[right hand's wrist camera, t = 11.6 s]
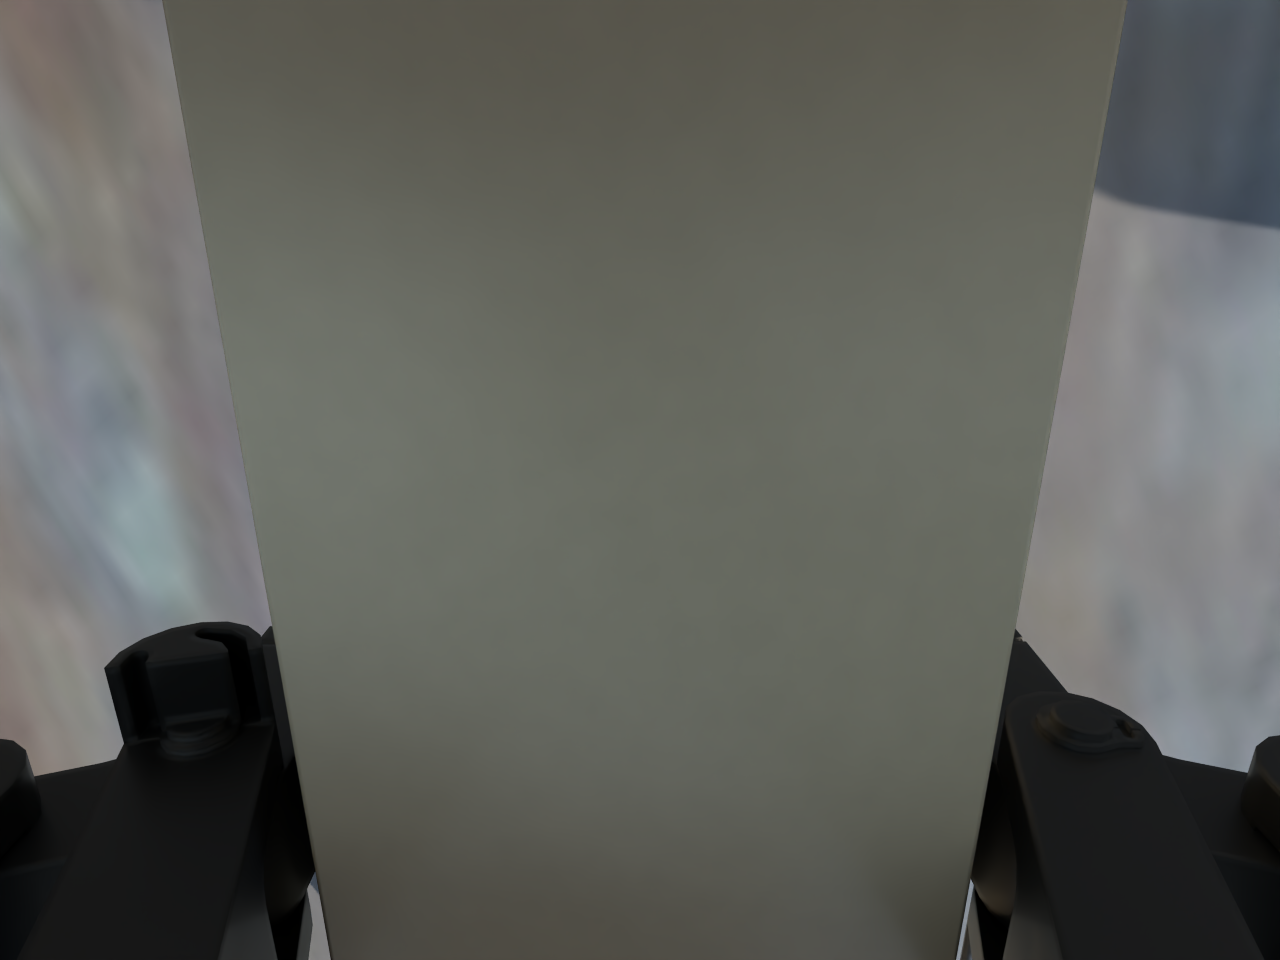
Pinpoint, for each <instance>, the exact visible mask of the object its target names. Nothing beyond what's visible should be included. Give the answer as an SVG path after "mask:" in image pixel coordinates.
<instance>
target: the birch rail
mask: <svg viewBox="0 0 1280 960" xmlns="http://www.w3.org/2000/svg"><path fill="white" fill-rule="evenodd" d="M162 1H163V7H164V13H165V18H166V24H167V30H168V35H169V41H170V47H171V52H172V58H173V64H174V69H175V75H176V81H177V87H178V92H179V98H180V104H181V109H182V115H183V121H184V126H185V132H186V138H187V143H188V149H189V155H190V161H191V166H192V172H193V178H194V183H195V189H196V195H197V200H198V206H199V212H200V217H201V223H202V229H203V234H204V240H205V246H206V252H207V257H208V263H209V269H210V274H211V280H212V286H213V291H214V297H215V303H216V308H217V314H218V320H219V326H220V331H221V337H222V343H223V348H224V354H225V360H226V365H227V371H228V377H229V382H230V388H231V394H232V399H233V405H234V411H235V417H236V422H237V428H238V434H239V439H240V445H241V451H242V456H243V462H244V468H245V473H246V479H247V485H248V491H249V496H250V502H251V508H252V513H253V519H254V525H255V530H256V536H257V542H258V547H259V553H260V559H261V564H262V570H263V576H264V582H265V587H266V593H267V599H268V604H269V610H270V616H271V621H272V627H273V633H274V638H275V644H276V650H277V656H278V661H279V667H280V673H281V678H282V684H283V690H284V695H285V701H286V707H287V712H288V718H289V724H290V729H291V735H292V741H293V747H294V752H295V758H296V764H297V769H298V775H299V781H300V786H301V792H302V798H303V803H304V809H305V815H306V821H307V826H308V832H309V838H310V843H311V849H312V855H313V860H314V866H315V872H316V877H317V883H318V889H319V894H320V900H321V906H322V912H323V917H324V923H325V929H326V934H327V940H328V946H329V951H330V957H331V960H956V957H957V951H958V946H959V940H960V934H961V929H962V923H963V918H964V912H965V906H966V901H967V895H968V890H969V884H970V878H971V873H972V867H973V862H974V856H975V851H976V845H977V839H978V834H979V828H980V823H981V817H982V811H983V806H984V800H985V795H986V789H987V783H988V778H989V772H990V767H991V761H992V756H993V750H994V744H995V739H996V733H997V728H998V722H999V716H1000V711H1001V705H1002V700H1003V694H1004V688H1005V683H1006V677H1007V672H1008V666H1009V661H1010V655H1011V649H1012V644H1013V638H1014V633H1015V627H1016V621H1017V616H1018V610H1019V605H1020V599H1021V593H1022V588H1023V582H1024V577H1025V571H1026V566H1027V560H1028V554H1029V549H1030V543H1031V538H1032V532H1033V526H1034V521H1035V515H1036V510H1037V504H1038V498H1039V493H1040V487H1041V482H1042V476H1043V470H1044V465H1045V459H1046V454H1047V448H1048V443H1049V437H1050V431H1051V426H1052V420H1053V415H1054V409H1055V403H1056V398H1057V392H1058V387H1059V381H1060V375H1061V370H1062V364H1063V359H1064V353H1065V348H1066V342H1067V336H1068V331H1069V325H1070V320H1071V314H1072V308H1073V303H1074V297H1075V292H1076V286H1077V280H1078V275H1079V269H1080V264H1081V258H1082V253H1083V247H1084V241H1085V236H1086V230H1087V225H1088V219H1089V213H1090V208H1091V202H1092V197H1093V191H1094V185H1095V180H1096V174H1097V169H1098V163H1099V158H1100V152H1101V146H1102V141H1103V135H1104V130H1105V124H1106V118H1107V113H1108V107H1109V102H1110V96H1111V90H1112V85H1113V79H1114V74H1115V68H1116V63H1117V57H1118V51H1119V46H1120V40H1121V35H1122V29H1123V23H1124V18H1125V12H1126V7H1127V1H1128V0H162Z"/></svg>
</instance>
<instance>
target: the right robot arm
mask: <svg viewBox="0 0 1280 960" xmlns="http://www.w3.org/2000/svg"><path fill="white" fill-rule="evenodd" d="M104 669H105V673H106V677H107V680H108V684H109V688H110V692H111V696H112V700H113V703H114V707H115V711H116V715H117V719H118V722H119V726H120V730H121V734H122V738H123V741H124V745H123V747H122V749H121V751H120V753H119V755H118V757H117V759H115V760H111V761H108V762H104V763H99V764H94V765H89V766H84V767H79V768H74V769H69V770H64V771H59V772H54V773H49V774H44V775H39V776H34V775H33V772H32V768H31V765H30V762H29V759H28V756H27V753H26V750H25V749H23V748H22V747H21V746H19V745H18V744H17V743H16V742H14V741H12V740H5V739H0V960H308V957H309V950H310V942H311V934H312V926H313V924H312V917H311V909H310V903H309V898H308V892H307V888H308V885H309V883H310V881H311V879H312V877H313V875H314V873H315V866H314V860H313V855H312V849H311V843H310V838H309V832H308V826H307V821H306V815H305V809H304V803H303V798H302V792H301V786H300V781H299V775H298V769H297V764H296V758H295V752H294V747H293V741H292V735H291V729H290V724H289V718H288V712H287V707H286V701H285V695H284V690H283V684H282V678H281V673H280V667H279V661H278V656H277V650H276V644H275V638H274V633H273V627H272V626H270V627H269V628H268V629H267V631H266V632H265V633H264V634H263V635H262V637H261V635H260V634H258V633H257V632H256V631H254V630H253V629H252V628H250V627H249V626H246V625H241V624H237V623H232V622H200V623H195V624H190V625H185V626H180V627H175V628H171V629H168V630H165V631H163V632H160V633H157V634H154V635H152V636H149V637H146V638H143V639H142V640H140V641H138V642H136V643H135V644H133V645H131V646H130V647H128V648H126V649H124V650H123V651H121V652H119V653H118V654H117V655H116V656H115V657H114V658H113V659H112V660H111V661H110V663H109V664H108V665H107V666H106V667H105V668H104ZM971 880H972V882H973V884H974V887H973V892H972V898H971V903H970V909H969V914H968V920H967V925H966V931H965V936H964V941H963V947H962V952H961V958H960V960H1280V735H1279V736H1272V737H1268V738H1267V739H1265V740H1264V741H1263V742H1261V743H1260V744H1259V745H1257V746H1256V748H1255V752H1254V755H1253V758H1252V761H1251V764H1250V768H1249V771H1248V773H1245V772H1240V771H1235V770H1230V769H1225V768H1220V767H1215V766H1210V765H1205V764H1200V763H1195V762H1190V761H1185V760H1180V759H1176V758H1172V757H1168V756H1164V755H1162V753H1161V751H1160V749H1159V747H1158V745H1157V743H1156V742H1155V741H1154V739H1153V738H1152V737H1151V736H1150V734H1149V733H1148V732H1147V731H1146V730H1145V728H1144V727H1143V726H1142V725H1141V724H1139V723H1138V722H1136V721H1135V720H1134V719H1132V718H1131V717H1129V716H1128V715H1126V714H1125V713H1123V712H1122V711H1120V710H1118V709H1116V708H1114V707H1111V706H1109V705H1107V704H1104V703H1102V702H1100V701H1097V700H1095V699H1093V698H1088V697H1084V696H1080V695H1075V694H1071V693H1068V692H1067V691H1066V690H1065V688H1064V687H1063V686H1062V685H1061V684H1060V682H1059V681H1058V680H1057V679H1056V678H1055V676H1054V675H1053V674H1052V673H1051V671H1050V670H1049V669H1048V668H1047V667H1046V665H1045V664H1044V663H1043V662H1042V660H1041V659H1040V658H1039V657H1038V656H1037V654H1036V653H1035V652H1034V651H1033V650H1032V648H1031V647H1030V646H1029V645H1028V643H1027V642H1023V641H1022V636H1021V635H1020V634H1019V632H1018V631H1017V630H1016V629H1015V633H1014V638H1013V644H1012V649H1011V655H1010V661H1009V666H1008V672H1007V677H1006V683H1005V688H1004V694H1003V700H1002V705H1001V711H1000V716H999V722H998V728H997V733H996V739H995V744H994V750H993V756H992V761H991V767H990V772H989V778H988V783H987V789H986V795H985V800H984V806H983V811H982V817H981V823H980V828H979V834H978V839H977V845H976V851H975V856H974V862H973V867H972V873H971Z"/></svg>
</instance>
